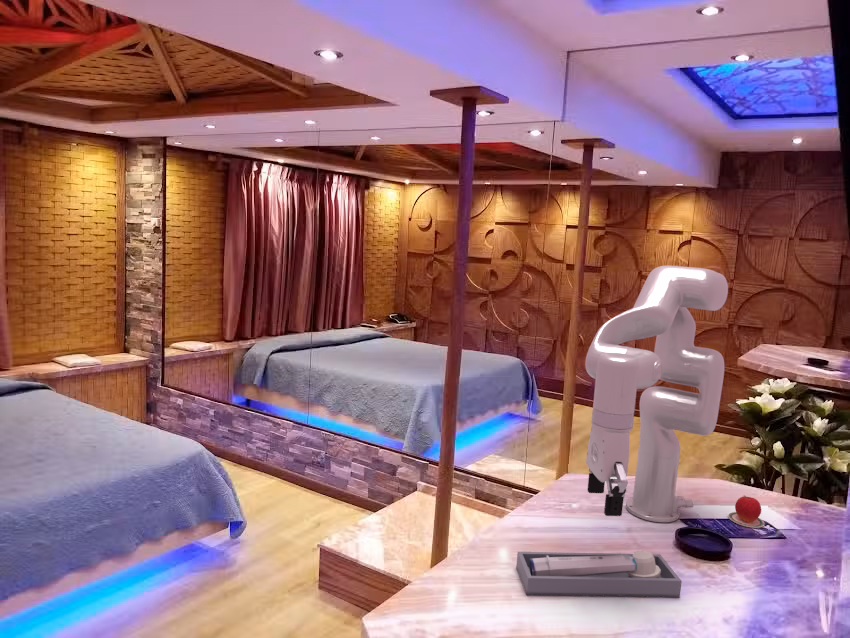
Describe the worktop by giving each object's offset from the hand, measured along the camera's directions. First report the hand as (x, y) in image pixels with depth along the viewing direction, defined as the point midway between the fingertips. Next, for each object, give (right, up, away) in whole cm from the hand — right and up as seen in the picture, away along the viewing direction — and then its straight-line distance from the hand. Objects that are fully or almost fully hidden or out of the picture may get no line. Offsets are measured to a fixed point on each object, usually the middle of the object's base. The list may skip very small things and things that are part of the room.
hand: (603, 503), depth 123 cm
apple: (+44, -14, +33) cm, 57 cm away
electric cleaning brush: (-2, -16, +1) cm, 16 cm away
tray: (-1, -16, +2) cm, 16 cm away
